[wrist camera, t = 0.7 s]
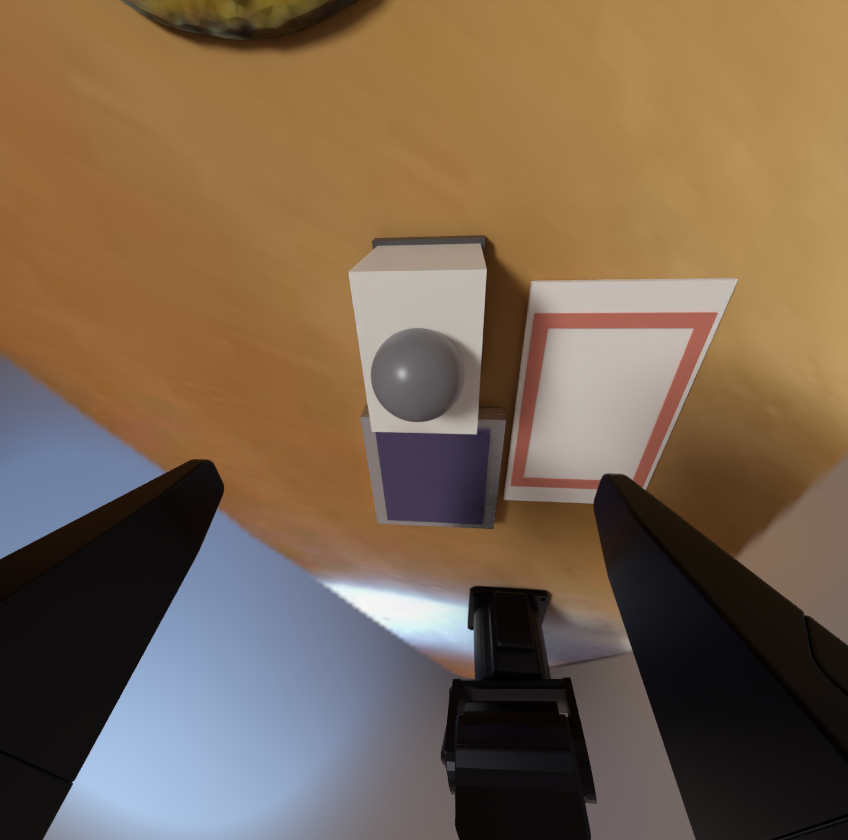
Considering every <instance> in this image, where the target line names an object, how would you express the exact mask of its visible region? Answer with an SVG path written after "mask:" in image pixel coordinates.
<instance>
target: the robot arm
mask: <svg viewBox="0 0 848 840" xmlns="http://www.w3.org/2000/svg"><path fill="white" fill-rule="evenodd" d="M223 493H224V484H223V482H222V480H221V478H220V475H219V473H218V471H217V469H216V467H215V465H214V463H213V462H212V461H210V460H204V459H193V460H190V461H188V462H186V463H184V464H182V465H180V466H178V467H176V468H174V469H173V470H171V471H169V472H167V473H165V474H163V475H161V476H159V477H157V478H155V479H153V480H151V481H150V482H148V483H146V484H144V485H142V486H140V487H138V488H136V489H134V490H132V491H130V492H128V493H127V494H125V495H123V496H121V497H119V498H117V499H115V500H113V501H112V502H109V503H107V504H105V505H103V506H102V507H100V508H98V509H96V510H94V511H92V512H90V513H88V514H86V515H84V516H83V517H80V518H79V519H77V520H75V521H73V522H71V523H69V524H67V525H65V526H63V527H61V528H59V529H57V530H56V531H54V532H52V533H50V534H48V535H46V536H44V537H42V538H40V539H38V540H36V541H34V542H32V543H31V544H29V545H27V546H25V547H23V548H21V549H19V550H17V551H15V552H13V553H11V554H9V555H7V556H6V557H4V558H2V559H0V840H43V838H44V836H45V835H46V833H47V831H48V829H49V827H50V825H51V823H52V822H53V820H54V818H55V816H56V814H57V812H58V811H59V809H60V807H61V805H62V803H63V801H64V799H65V798H66V796H67V794H68V792H69V790H70V789H71V786H72V785H73V783H72V782H73V781H74V780H75V779H76V777H77V775H78V773H79V771H80V769H81V768H82V766H83V764H84V762H85V760H86V758H87V757H88V755H89V753H90V751H91V749H92V747H93V745H94V744H95V742H96V740H97V738H98V736H99V735H100V733H101V731H102V729H103V727H104V725H105V723H106V722H107V720H108V718H109V716H110V714H111V713H112V711H113V709H114V707H115V705H116V703H117V702H118V700H119V698H120V696H121V694H122V692H123V690H124V689H125V687H126V685H127V683H128V681H129V679H130V677H131V676H132V674H133V672H134V670H135V668H136V667H137V665H138V663H139V661H140V659H141V657H142V656H143V654H144V652H145V650H146V648H147V646H148V644H149V643H150V641H151V639H152V637H153V635H154V633H155V632H156V630H157V628H158V626H159V624H160V622H161V620H162V619H163V617H164V615H165V613H166V611H167V610H168V607H169V606H170V604H171V602H172V600H173V598H174V597H175V595H176V593H177V591H178V589H179V587H180V586H181V584H182V582H183V580H184V578H185V576H186V575H187V573H188V571H189V569H190V567H191V565H192V564H193V562H194V560H195V558H196V556H197V554H198V552H199V550H200V548H201V545H202V543H203V541H204V539H205V536H206V534H207V531H208V529H209V527H210V524H211V522H212V519H213V517H214V515H215V513H216V510H217V508H218V505H219V503H220V501H221V498H222V496H223ZM593 506H594V513H595V518H596V523H597V527H598V532H599V537H600V542H601V546H602V551H603V556H604V561H605V565H606V570H607V574H608V577H609V581H610V584H611V587H612V590H613V593H614V596H615V599H616V602H617V605H618V608H619V611H620V614H621V617H622V620H623V623H624V626H625V629H626V632H627V635H628V638H629V641H630V644H631V647H632V650H633V653H634V656H635V659H636V662H637V665H638V668H639V671H640V674H641V677H642V680H643V683H644V686H645V689H646V692H647V695H648V698H649V701H650V704H651V707H652V710H653V713H654V716H655V719H656V722H657V725H658V728H659V731H660V734H661V737H662V740H663V743H664V746H665V749H666V752H667V755H668V758H669V761H670V764H671V767H672V770H673V773H674V776H675V779H676V782H677V785H678V788H679V791H680V794H681V797H682V800H683V803H684V806H685V809H686V812H687V815H688V818H689V821H690V824H691V827H692V830H693V833H694V836H695V839H696V840H848V645H847V644H845V643H844V642H843V641H841V640H840V639H839V638H837V637H836V636H835V635H834V634H832V633H831V632H830V631H828V630H827V629H826V628H824V627H823V626H822V625H820V624H819V623H818V622H817V621H815V620H814V619H813V618H811V617H810V616H805V615H804V612H803V611H802V610H801V609H799V608H798V607H797V606H796V605H794V604H793V603H792V602H790V601H789V600H788V599H786V598H785V597H784V596H783V595H781V594H780V593H778V592H777V591H776V590H775V589H773V588H772V587H771V586H770V585H768V584H767V583H766V582H764V581H763V580H762V579H760V578H759V577H758V576H757V575H755V574H754V573H753V572H751V571H750V570H749V569H747V568H746V567H745V566H743V565H742V564H741V563H740V562H738V561H737V560H736V559H734V558H733V557H732V556H731V555H729V554H728V553H727V552H725V551H724V550H723V549H721V548H720V547H719V546H718V545H716V544H715V543H714V542H712V541H711V540H710V539H708V538H707V537H706V536H705V535H703V534H702V533H701V532H699V531H698V530H697V529H695V528H694V527H693V526H692V525H690V524H689V523H688V522H686V521H685V520H684V519H682V518H681V517H680V516H679V515H677V514H676V513H675V512H673V511H672V510H671V509H669V508H668V507H667V506H666V505H664V504H663V503H662V502H660V501H659V500H658V499H656V498H655V497H654V496H653V495H651V494H650V493H649V492H647V491H646V490H645V489H643V488H642V487H641V486H640V485H638V484H637V483H636V482H634V481H633V480H632V479H630V478H629V477H628V476H626V475H624V474H615V473H606V474H604V475H603V476H602V477H601V480H600V483H599V486H598V489H597V492H596V495H595V498H594V504H593ZM548 602H549V596H548V593H546V592H543V591H527V590H511V589H495V588H479V587H473V588H471V589H470V595H469V610H468V629H470V630H474V662H475V679H474V680H461V679H460V678H453V683H452V687H451V688H450V689H449V707H448V718H447V725H446V730H445V735H444V740H443V745H442V750H441V761H442V763H443V764H444V766H445V767H446V769H447V775H448V782H449V788H450V791H451V794H453V795H455V808H456V809H455V813H456V814H455V816H456V817H455V827H456V831H457V834H458V837H459V840H591V834H590V827H589V822H588V816H587V812H586V806H585V803H592V804H597V800H596V793H595V787H594V782H593V777H592V771H591V766H590V761H589V757H588V752H587V747H586V743H585V738H584V735H583V730H582V725H581V721H580V717H579V713H578V708H577V704H576V700H575V696H574V692H573V687H572V683H571V678H570V677H563V679H551V676H550V671H549V665H548V659H547V653H546V648H545V642H544V636H543V630H542V622H543V619H544V615H545V612H546V608H547V605H548ZM559 713H568V717H566V716H565V715H564V714H559Z"/></svg>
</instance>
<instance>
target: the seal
mask: <svg viewBox="0 0 848 840" xmlns="http://www.w3.org/2000/svg"><path fill="white" fill-rule="evenodd" d="M121 1H123V2H124V3H126V4H127V5H129V6H130V7H132V8H133V9H135V10H136V11H138V12H139V13H141V14H143V15H145V16H147V17H149V18H151V19H153V20H155V21H157V22H159V23H161V24H163V25H166V26H168V27H171V28H175V29H178V30H182V31H187V32H191V33H197V34H203V35H209V36H215V37H220V38H227V39H235V40H252V39H255V38H271V37H275V36H280V35H284V34H288V33H291V32H295V31H299V30H302V29H304V28H307V27H309V26H311V25H314V24H316V23H318V22H320V21H322V20H324V19H325V18H327V17H329V16H330V15H332V14H334V13H336V12H338V11H339V10H341V9H343V8H345V7H347V6H348V5H351V4H353V3H355V2H357V1H358V0H121Z"/></svg>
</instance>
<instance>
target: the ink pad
mask: <svg viewBox="0 0 848 840" xmlns="http://www.w3.org/2000/svg"><path fill="white" fill-rule="evenodd" d="M361 423H362V429H363V436H364V442H365V448H366V454H367V460H368V466H369V472H370V479H371V485H372V491H373V497H374V503H375V509H376V515H377V522H378V524H399V525H420V526H441V527H462V528H483V529H494V522H495V513H496V504H497V495H498V487H499V478H500V469H501V460H502V451H503V443H504V434H505V425H506V417H505V411H504V408H478V424H477V434H442V433H401V432H372V430H371V423H370V416H369V409H368V406H365V407H364V410H363V412H362V415H361Z"/></svg>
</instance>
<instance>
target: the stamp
mask: <svg viewBox="0 0 848 840" xmlns="http://www.w3.org/2000/svg"><path fill="white" fill-rule="evenodd" d="M485 240H486V238H485V235H480V236H441V237H403V238H375V239H374V240H373V241H372V244H373V250H372V251H371V252H370V253H369V254H368V255H367V256H366V257H364V258H363V259H362V260H361V261H360V262H359V263H358V264H357V265H356V266H354V267H353V268H352V269H351V270H350V271H349V279H350V286H351V293H352V300H353V307H354V314H355V320H356V327H357V334H358V341H359V348H360V355H361V362H362V368H363V375H364V382H365V389H366V396H367V403H368V409H369V416H370V423H371V430H372V432H401V433H442V434H477V424H478V407H479V390H480V374H481V357H482V340H483V323H484V307H485V290H486V273H487V269H486V264H485V260H484V258H485Z"/></svg>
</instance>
